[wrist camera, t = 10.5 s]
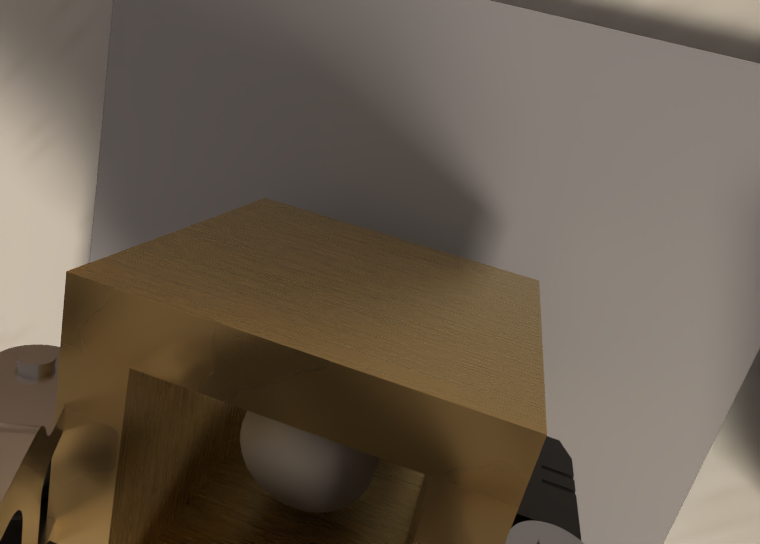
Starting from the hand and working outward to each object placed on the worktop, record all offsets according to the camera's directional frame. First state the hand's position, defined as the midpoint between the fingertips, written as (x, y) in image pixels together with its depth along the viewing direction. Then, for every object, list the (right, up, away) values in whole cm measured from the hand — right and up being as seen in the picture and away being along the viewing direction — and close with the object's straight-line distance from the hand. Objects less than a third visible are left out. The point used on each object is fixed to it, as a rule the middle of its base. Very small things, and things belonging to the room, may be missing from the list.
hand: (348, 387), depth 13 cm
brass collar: (0, 0, +1) cm, 1 cm away
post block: (+1, +1, +3) cm, 4 cm away
